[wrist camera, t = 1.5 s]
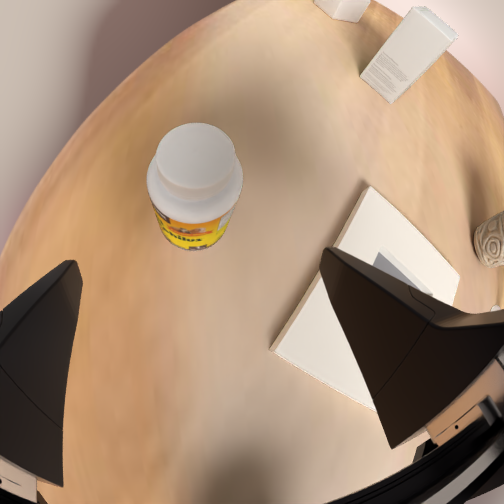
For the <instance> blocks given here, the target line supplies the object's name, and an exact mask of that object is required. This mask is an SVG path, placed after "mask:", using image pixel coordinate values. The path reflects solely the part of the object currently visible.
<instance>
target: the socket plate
mask: <svg viewBox="0 0 504 504" xmlns="http://www.w3.org/2000/svg"><path fill="white" fill-rule="evenodd" d="M333 247H336V248H338V249H340V250H342V251H344V252H346V253H348V254H350V255H352V256H354V257H356V258H358V259H360V260H362V261H364V262H366V263H368V264H370V265H372V266H374V267H376V268H378V269H380V270H382V271H384V272H386V273H388V274H390V275H391V276H393V277H395V278H397V279H399V280H401V281H403V282H405V283H407V284H408V285H410V286H412V287H414V288H416V289H418V290H420V291H422V292H424V293H426V294H427V295H430V296H432V297H434V298H436V299H438V300H440V301H442V302H444V303H446V304H448V305H450V306H452V304H453V300H454V297H455V294H456V290H457V286H458V283H459V279H460V276H459V275H458V273H457V272H456V271H455V270H454V269H453V268H452V266H451V265H450V264H449V263H448V262H447V261H446V260H445V258H444V257H443V256H442V255H441V254H440V253H439V252H438V251H437V250H436V249H435V247H434V246H433V245H432V244H431V243H430V242H429V241H428V240H427V239H426V238H425V237H424V236H423V235H422V234H421V233H420V232H419V231H418V230H417V229H416V228H415V227H414V226H413V225H412V224H411V223H410V222H409V221H408V220H407V219H406V218H405V217H404V216H403V215H402V214H401V213H400V212H399V211H398V210H397V209H396V208H395V207H393V206H392V205H391V204H390V203H389V202H388V201H387V200H386V199H385V198H384V197H382V196H381V195H380V194H379V193H378V192H377V191H376V190H375V189H373V188H372V187H371V186H369V187H368V188H366V189H365V190H364V191H362V193H361V195H360V197H359V199H358V201H357V203H356V205H355V207H354V209H353V210H352V212H351V214H350V216H349V218H348V220H347V222H346V223H345V225H344V227H343V229H342V231H341V233H340V234H339V236H338V238H337V240H336V242H335V243H334V245H333ZM269 350H270V351H272V352H273V353H275V354H276V355H278V356H279V357H281V358H283V359H284V360H286V361H287V362H289V363H291V364H292V365H294V366H295V367H297V368H299V369H300V370H302V371H304V372H305V373H307V374H309V375H310V376H312V377H314V378H315V379H317V380H319V381H320V382H322V383H324V384H326V385H327V386H329V387H331V388H333V389H334V390H336V391H338V392H340V393H341V394H343V395H345V396H347V397H349V398H350V399H352V400H354V401H356V402H358V403H360V404H362V405H363V406H365V407H367V408H369V409H371V410H373V411H375V412H377V411H376V408H375V406H374V403H373V401H372V400H373V399H372V398H371V395H370V393H369V390H368V388H367V386H366V383H365V381H364V378H363V376H362V373H361V371H360V369H359V366H358V364H357V362H356V359H355V357H354V355H353V352H352V350H351V348H350V345H349V343H348V341H347V339H346V336H345V334H344V332H343V330H342V327H341V325H340V323H339V321H338V319H337V316H336V314H335V312H334V310H333V308H332V305H331V303H330V300H329V297H328V294H327V291H326V288H325V285H324V282H323V279H322V277H321V274H320V270H319V271H318V273H317V274H316V276H315V278H314V279H313V281H312V283H311V284H310V286H309V288H308V289H307V291H306V293H305V294H304V296H303V298H302V299H301V301H300V302H299V304H298V306H297V307H296V309H295V310H294V312H293V314H292V315H291V317H290V318H289V320H288V321H287V323H286V325H285V326H284V328H283V329H282V331H281V332H280V334H279V335H278V337H277V338H276V340H275V341H274V343H273V344H272V346H271V347H270V349H269Z"/></svg>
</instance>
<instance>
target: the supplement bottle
mask: <svg viewBox="0 0 504 504" xmlns="http://www.w3.org/2000/svg"><path fill="white" fill-rule="evenodd" d="M242 185H243V171H242V167H241V164H240V162H239V160H238V158H237V156H236V154H235V148H234V145H233V143H232V141H231V139H230V138H229V137H228V135H227V134H226V133H225V132H223V131H222V130H220V129H219V128H217V127H215V126H213V125H209V124H206V123H188V124H184V125H180V126H178V127H176V128H174V129H172V130H171V131H169V132H168V133H167V134H166V135H165V136H164V137H163V138H162V140H161V141H160V143H159V145H158V148H157V151H156V154H155V156H154V157H153V159H152V161H151V163H150V165H149V168H148V172H147V188H148V193H149V196H150V199H151V202H152V205H153V208H154V211H155V214H156V217H157V220H158V223H159V225H160V228H161V230H162V233H163V234H164V236H165V237H166V239H167V240H168V241H169V242H170V243H171V244H173V245H174V246H176V247H178V248H180V249H183V250H187V251H199V250H204V249H206V248H209V247H211V246H212V245H214V244H215V243H216V242H217V241H218V240H219V239H220V238H221V237H222V235H223V234H224V232H225V230H226V228H227V225H228V223H229V220H230V218H231V215H232V213H233V210H234V208H235V205H236V203H237V201H238V198H239V196H240V193H241V190H242Z"/></svg>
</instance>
